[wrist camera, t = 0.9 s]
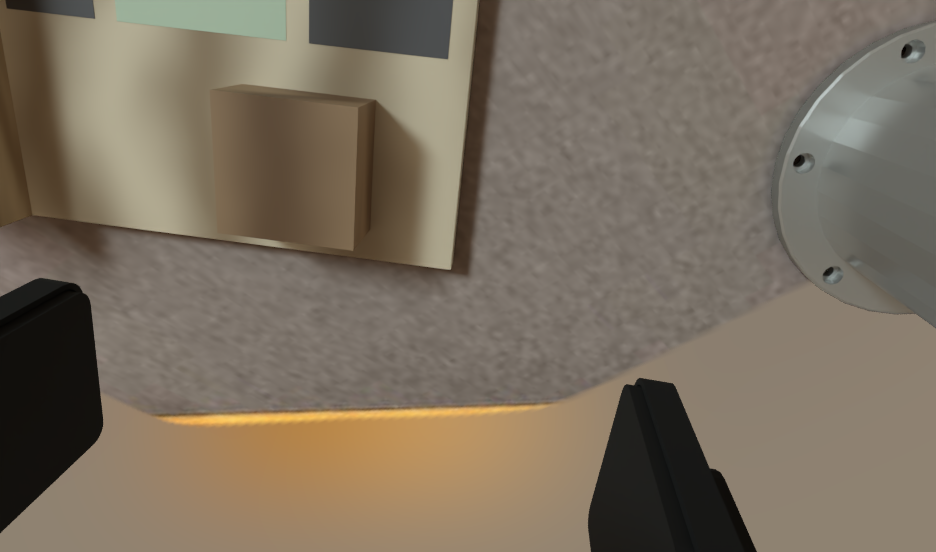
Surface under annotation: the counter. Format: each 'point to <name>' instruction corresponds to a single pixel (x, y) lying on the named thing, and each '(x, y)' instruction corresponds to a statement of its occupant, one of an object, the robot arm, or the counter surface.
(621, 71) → the counter surface
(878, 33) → the counter surface
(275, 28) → the green pad
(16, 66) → the board
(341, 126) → the block
